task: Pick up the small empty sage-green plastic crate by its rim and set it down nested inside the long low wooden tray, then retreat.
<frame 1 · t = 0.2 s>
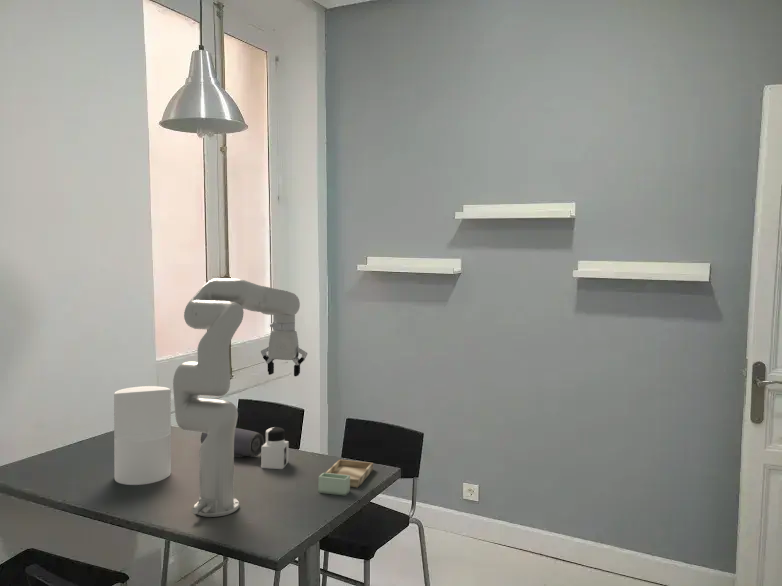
hand: (283, 374, 217), 31 cm above the table, fingers open, 9 cm apart
bluetooth speaker: (232, 455, 224), on the table
container: (275, 465, 213), on the table
small crate: (334, 491, 190), on the table
cylinder: (143, 475, 201), on the table
wooden tray: (348, 476, 203), on the table
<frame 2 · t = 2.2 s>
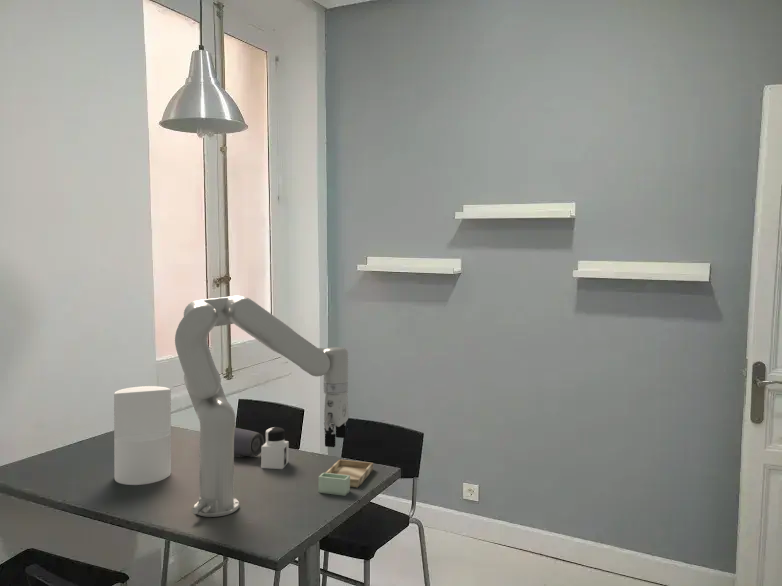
hand: (335, 441, 189), 16 cm above the table, fingers open, 9 cm apart
nothing on the table moved.
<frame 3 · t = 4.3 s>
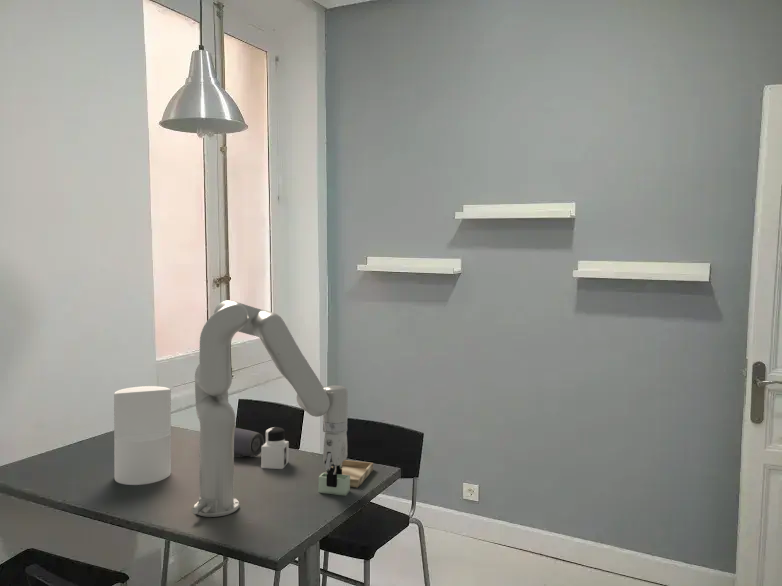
hand: (334, 483, 190), 3 cm above the table, fingers closed on small crate, 4 cm apart
small crate: (334, 491, 190), on the table, touching gripper
everything else where it was.
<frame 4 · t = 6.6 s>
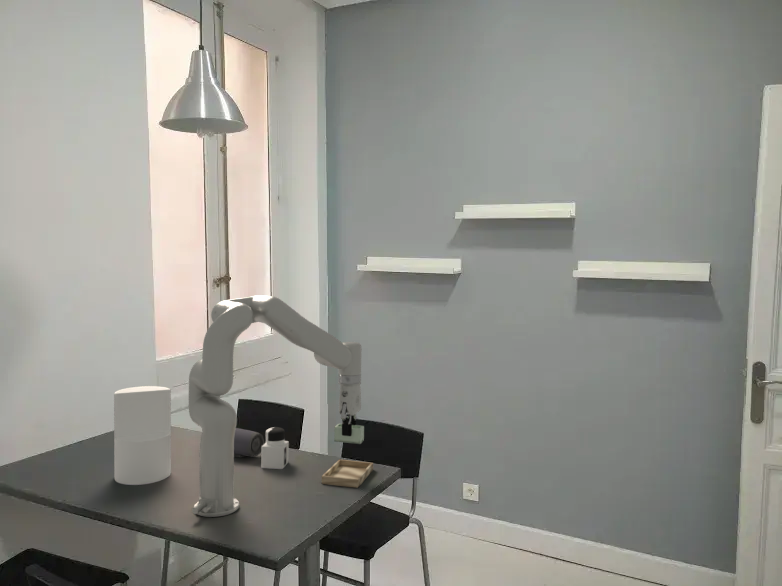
hand: (349, 433, 202), 15 cm above the table, fingers closed on small crate, 4 cm apart
small crate: (349, 441, 203), point 12 cm above the table, touching gripper
everything else where it was.
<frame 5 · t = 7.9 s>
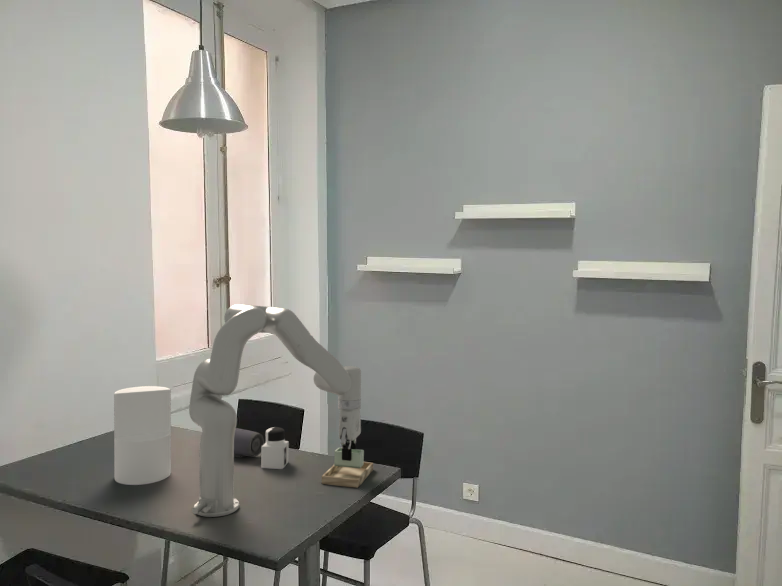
hand: (348, 457, 203), 6 cm above the table, fingers closed on small crate, 4 cm apart
small crate: (349, 465, 203), point 4 cm above the table, touching gripper
everything else where it was.
when the fingers open (4 cm above the table, at t = 9.1 s): small crate drops 1 cm, resting on wooden tray.
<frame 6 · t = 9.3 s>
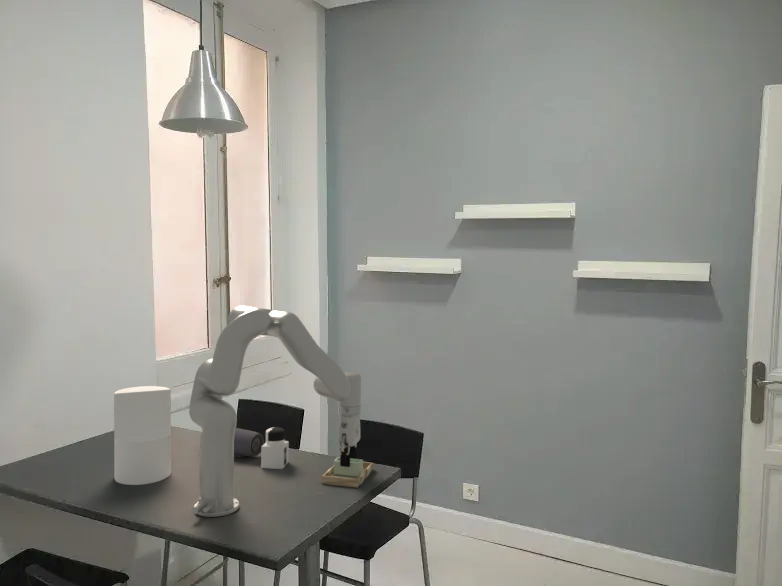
hand: (348, 462, 203), 5 cm above the table, fingers open, 6 cm apart
small crate: (348, 474, 203), point 1 cm above the table, touching wooden tray
everything else where it was.
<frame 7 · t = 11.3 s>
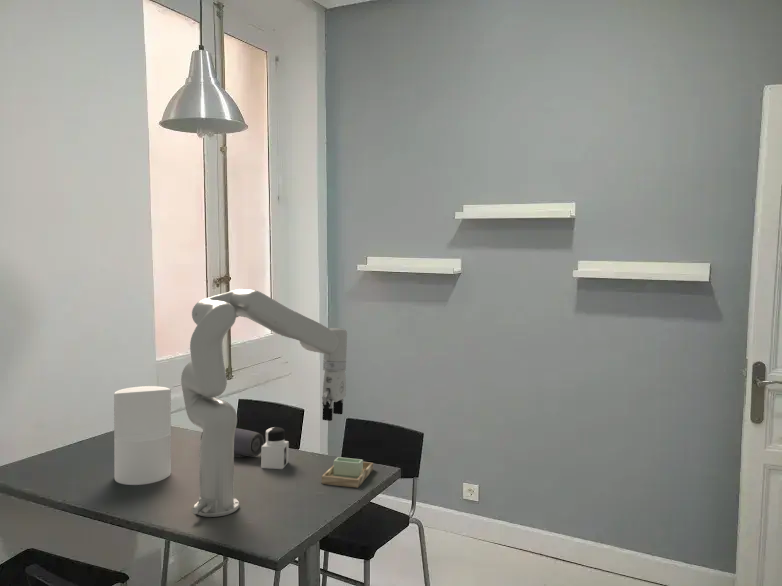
hand: (332, 416, 201), 20 cm above the table, fingers open, 9 cm apart
nothing on the table moved.
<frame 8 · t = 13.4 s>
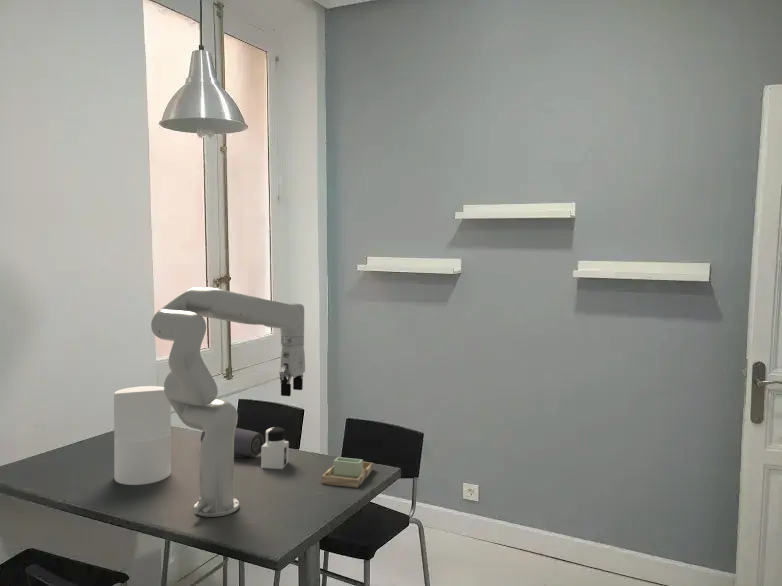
hand: (291, 392, 200), 28 cm above the table, fingers open, 9 cm apart
nothing on the table moved.
at the end: small crate inside the target area on the wooden tray (0.1 cm from its centre), point 0.6 cm above the wooden tray's base; small crate tilted 0°; the gripper is holding nothing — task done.
